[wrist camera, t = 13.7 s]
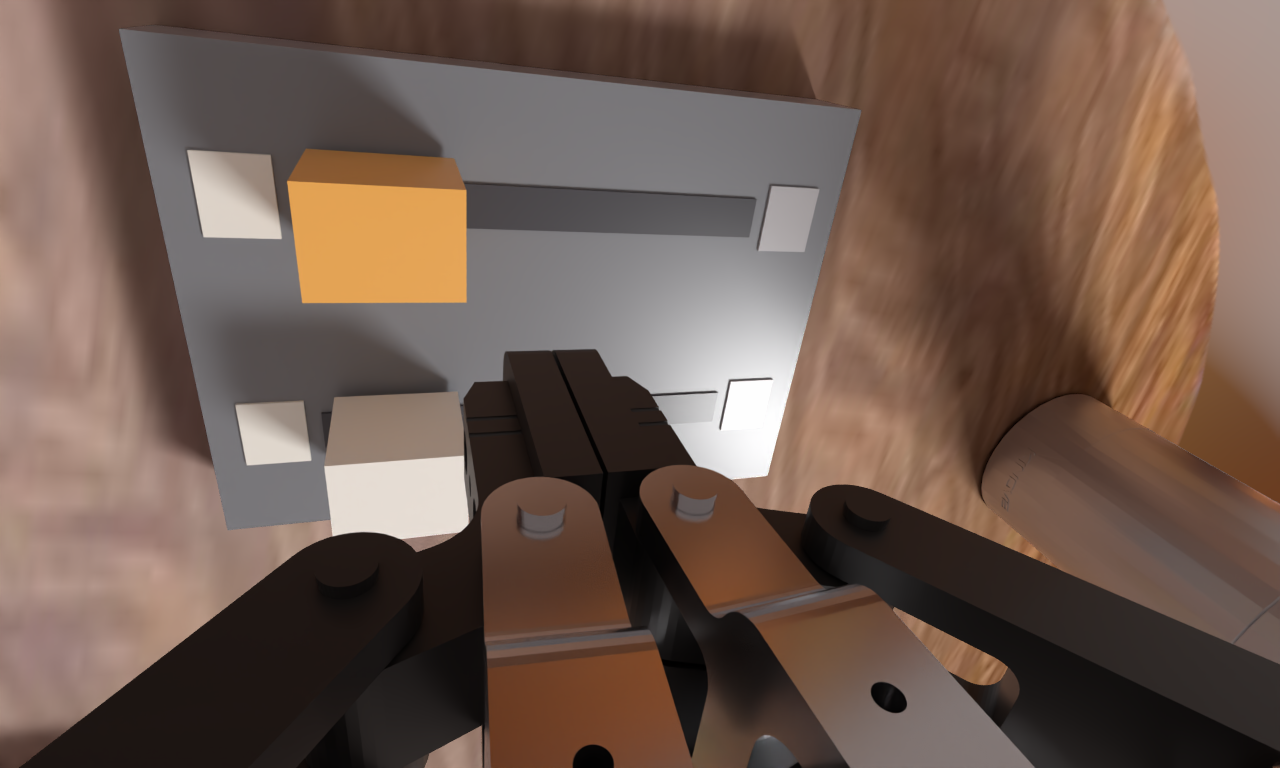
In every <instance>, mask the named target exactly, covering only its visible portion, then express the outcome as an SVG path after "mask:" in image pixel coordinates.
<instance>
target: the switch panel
mask: <svg viewBox="0 0 1280 768" xmlns="http://www.w3.org/2000/svg"><path fill="white" fill-rule="evenodd" d="M119 33H120V37H121V42H122V47H123V51H124V56H125V60H126V65H127V70H128V74H129V79H130V83H131V88H132V93H133V97H134V102H135V106H136V111H137V116H138V120H139V125H140V129H141V134H142V139H143V143H144V148H145V152H146V157H147V162H148V166H149V171H150V175H151V180H152V185H153V189H154V194H155V198H156V203H157V207H158V212H159V217H160V221H161V226H162V230H163V235H164V240H165V244H166V249H167V253H168V258H169V263H170V267H171V272H172V276H173V281H174V286H175V290H176V295H177V299H178V304H179V309H180V313H181V318H182V322H183V327H184V332H185V336H186V341H187V345H188V350H189V355H190V359H191V364H192V368H193V373H194V378H195V382H196V387H197V391H198V396H199V401H200V405H201V410H202V414H203V419H204V424H205V428H206V433H207V437H208V442H209V447H210V451H211V456H212V460H213V465H214V470H215V474H216V479H217V483H218V488H219V493H220V497H221V502H222V506H223V511H224V516H225V520H226V525H227V529H228V530H234V529H244V528H254V527H264V526H274V525H283V524H293V523H303V522H313V521H323V520H331V517H330V509H329V501H328V492H327V484H326V476H325V468H324V465H325V458H326V451H327V444H328V438H329V431H330V424H331V417H332V410H333V403H334V397H350V396H372V395H393V394H415V393H437V392H458V397H459V403H460V409H461V415H462V421H463V427H464V413H463V399H464V397H465V396H466V394H467V393H468V391H469V390H470V388H471V387H472V385H473V384H474V382H487V381H503V360H504V354H505V351H539V350H550V351H552V350H575V349H596V350H597V351H598V353H599V354H600V356H601V358H602V360H603V361H604V363H605V365H606V367H607V369H608V370H609V372H610V374H611V376H612V377H614V376H628V377H629V378H631V379H632V380H634V381H635V382H637V383H638V384H640V385H641V386H643V387H644V388H646V389H647V390H648V391H649V392H650V394H651V395H652V397H653V398H654V400H655V402H656V403H657V405H658V406H659V410H661V411H662V413H663V414H664V416H665V417H666V419H667V420H668V425H671V427H672V428H673V430H674V431H675V433H676V435H677V436H678V438H679V439H680V441H681V442H682V444H683V446H684V447H685V449H686V450H687V452H688V453H689V455H690V457H691V458H692V460H693V461H694V463H695V464H696V466H699V467H703V468H707V469H710V470H713V471H716V472H718V473H720V474H722V475H724V476H726V477H727V478H729V479H740V478H750V477H760V476H767V475H768V471H769V467H770V463H771V459H772V456H773V452H774V448H775V444H776V440H777V436H778V432H779V428H780V425H781V421H782V417H783V413H784V409H785V405H786V401H787V397H788V393H789V390H790V386H791V382H792V378H793V374H794V370H795V366H796V362H797V359H798V355H799V351H800V347H801V343H802V339H803V335H804V331H805V328H806V324H807V320H808V316H809V312H810V308H811V304H812V300H813V297H814V293H815V289H816V285H817V281H818V277H819V273H820V269H821V265H822V262H823V258H824V254H825V250H826V246H827V242H828V238H829V234H830V231H831V227H832V223H833V219H834V215H835V211H836V207H837V203H838V200H839V196H840V192H841V188H842V184H843V180H844V176H845V172H846V169H847V165H848V161H849V157H850V153H851V149H852V145H853V141H854V138H855V134H856V130H857V126H858V122H859V118H860V114H861V110H860V109H855V108H851V107H847V106H843V105H839V104H834V103H830V102H826V101H822V100H817V99H809V98H800V97H791V96H782V95H773V94H765V93H756V92H747V91H738V90H729V89H720V88H711V87H703V86H694V85H685V84H676V83H667V82H658V81H649V80H640V79H632V78H623V77H614V76H605V75H596V74H587V73H578V72H569V71H561V70H552V69H543V68H534V67H525V66H516V65H507V64H498V63H490V62H481V61H472V60H463V59H454V58H445V57H436V56H427V55H419V54H410V53H401V52H392V51H383V50H374V49H365V48H356V47H348V46H339V45H330V44H321V43H312V42H303V41H294V40H285V39H277V38H268V37H259V36H250V35H241V34H232V33H223V32H214V31H206V30H197V29H188V28H179V27H170V26H161V25H148V26H138V27H129V28H120V29H119ZM305 149H319V150H334V151H349V152H365V153H380V154H395V155H411V156H426V157H441V158H454V159H455V162H456V164H457V167H458V170H459V172H460V175H461V177H462V180H463V183H464V185H465V188H466V252H467V303H302V297H301V289H300V281H299V273H298V265H297V257H296V249H295V241H294V233H293V225H292V216H291V208H290V200H289V192H288V184H287V180H288V179H289V177H290V175H291V173H292V172H293V170H294V168H295V167H296V165H297V163H298V161H299V160H300V158H301V156H302V154H303V153H304V151H305Z"/></svg>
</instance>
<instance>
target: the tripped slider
mask: <svg viewBox="0 0 1280 768" xmlns="http://www.w3.org/2000/svg"><path fill="white" fill-rule="evenodd" d="M287 184H288V192H289V200H290V208H291V216H292V225H293V233H294V241H295V249H296V257H297V265H298V273H299V281H300V289H301V297H302V303H467V252H466V188H465V185H464V183H463V180H462V177H461V175H460V172H459V170H458V167H457V164H456V162H455V159H454V158H441V157H426V156H411V155H395V154H380V153H365V152H349V151H334V150H319V149H305V151H304V153H303V154H302V156H301V158H300V160H299V161H298V163H297V165H296V167H295V168H294V170H293V172H292V173H291V175H290V177H289V179H288V180H287Z"/></svg>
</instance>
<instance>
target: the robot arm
mask: <svg viewBox="0 0 1280 768" xmlns="http://www.w3.org/2000/svg"><path fill="white" fill-rule="evenodd" d="M463 413H464V481H465V489H466V497H467V505H468V513H469V520H470V523H469V524H468V525H467V526H466V527H465V528H464V529H463V530H462V531H461V532H460V533H458V534H457V535H455V536H454V537H452V538H451V539H449V540H447V541H445V542H443V543H441V544H438V545H436V546H433V547H431V548H428V549H425V550H422V551H419V552H416V551H415V550H414V549H413V548H412V547H411V546H410V545H408V544H407V543H406V542H404V541H402V540H400V539H398V538H396V537H393V536H390V535H387V534H382V533H375V532H355V533H347V534H341V535H336V536H333V537H329V538H326V539H323V540H321V541H318V542H316V543H314V544H312V545H310V546H308V547H306V548H304V549H302V550H301V551H299V552H298V553H297V554H295V555H294V556H292V557H291V558H290V559H288V560H287V561H286V562H285V563H283V564H282V565H281V566H279V567H278V568H277V569H275V570H274V571H273V572H272V573H270V574H269V575H268V576H266V577H265V578H264V579H263V580H261V581H260V582H259V583H257V584H256V585H255V586H253V587H252V588H251V589H250V590H248V591H247V592H246V593H244V594H243V595H242V596H241V597H239V598H238V599H237V600H235V601H234V602H233V603H232V604H230V605H229V606H228V607H226V608H225V609H224V610H222V611H221V612H220V613H219V614H217V615H216V616H215V617H213V618H212V619H211V620H210V621H208V622H207V623H206V624H204V625H203V626H202V627H200V628H199V629H198V630H197V631H195V632H194V633H193V634H191V635H190V636H189V637H188V638H186V639H185V640H184V641H182V642H181V643H180V644H178V645H177V646H176V647H175V648H173V649H172V650H171V651H169V652H168V653H167V654H166V655H164V656H163V657H162V658H160V659H159V660H158V661H157V662H155V663H154V664H153V665H151V666H150V667H149V668H147V669H146V670H145V671H144V672H142V673H141V674H140V675H138V676H137V677H136V678H135V679H133V680H132V681H131V682H129V683H128V684H127V685H125V686H124V687H123V688H122V689H120V690H119V691H118V692H116V693H115V694H114V695H113V696H111V697H110V698H109V699H107V700H106V701H105V702H104V703H102V704H101V705H100V706H98V707H97V708H96V709H94V710H93V711H92V712H91V713H89V714H88V715H87V716H85V717H84V718H83V719H82V720H80V721H79V722H78V723H76V724H75V725H74V726H72V727H71V728H70V729H69V730H67V731H66V732H65V733H63V734H62V735H61V736H60V737H58V738H57V739H56V740H54V741H53V742H52V743H50V744H49V745H48V746H47V747H45V748H44V749H43V750H41V751H40V752H39V753H38V754H36V755H35V756H34V757H32V758H31V759H30V760H29V761H27V762H26V763H25V764H23V765H22V766H21V767H19V768H424V767H425V765H426V762H427V760H428V756H429V753H431V752H433V751H434V750H436V749H438V748H440V747H442V746H444V745H446V744H448V743H449V742H451V741H453V740H455V739H457V738H459V737H461V736H462V735H464V734H466V733H468V732H470V731H472V730H474V729H476V728H477V727H479V726H481V750H482V768H1280V504H1279V503H1277V502H1275V501H1273V500H1272V499H1270V498H1268V497H1266V496H1264V495H1263V494H1261V493H1259V492H1258V491H1256V490H1254V489H1252V488H1251V487H1249V486H1247V485H1245V484H1244V483H1242V482H1240V481H1238V480H1236V479H1235V478H1233V477H1231V476H1230V475H1228V474H1226V473H1224V472H1223V471H1221V470H1219V469H1217V468H1216V467H1214V466H1212V465H1210V464H1208V463H1207V462H1205V461H1203V460H1201V459H1200V458H1198V457H1196V456H1194V455H1193V454H1191V453H1189V452H1187V451H1186V450H1184V449H1182V448H1180V447H1179V446H1177V445H1175V444H1173V443H1172V442H1170V441H1168V440H1166V439H1165V438H1163V437H1161V436H1159V435H1158V434H1156V433H1155V432H1153V431H1151V430H1149V429H1148V428H1146V427H1144V426H1142V425H1140V424H1139V423H1137V422H1135V421H1133V420H1132V419H1130V418H1128V417H1126V416H1125V415H1123V414H1121V413H1119V412H1118V411H1116V410H1114V409H1112V408H1111V407H1109V406H1107V405H1105V404H1104V403H1102V402H1100V401H1098V400H1097V399H1095V398H1093V397H1091V396H1088V395H1084V394H1069V395H1065V396H1062V397H1058V398H1055V399H1053V400H1051V401H1049V402H1047V403H1044V404H1042V405H1041V406H1039V407H1038V408H1036V409H1035V410H1033V411H1031V412H1030V413H1028V414H1027V415H1026V416H1025V417H1024V418H1022V419H1021V420H1020V421H1019V422H1018V423H1017V424H1015V425H1014V427H1013V428H1012V429H1011V430H1010V431H1009V432H1008V433H1007V434H1006V435H1005V436H1004V437H1003V439H1002V440H1001V442H1000V443H999V444H998V446H997V447H996V448H995V450H994V452H993V454H992V455H991V457H990V459H989V461H988V463H987V466H986V469H985V471H984V474H983V479H982V486H981V489H982V497H983V499H984V501H985V503H986V505H987V506H988V507H989V508H990V509H991V510H992V511H993V512H995V513H996V514H997V515H998V516H999V517H1000V518H1002V519H1003V520H1004V521H1005V522H1006V523H1007V524H1008V525H1010V526H1011V527H1012V528H1013V529H1014V530H1015V531H1017V532H1018V533H1019V534H1020V535H1021V536H1022V537H1024V538H1025V539H1026V540H1027V541H1028V542H1029V543H1030V544H1032V545H1033V546H1034V547H1035V548H1036V549H1037V550H1038V551H1039V552H1041V553H1042V554H1043V555H1044V556H1045V557H1046V558H1048V559H1049V560H1050V561H1051V562H1052V563H1053V564H1055V565H1056V566H1057V567H1058V568H1059V569H1060V570H1059V569H1057V568H1054V567H1052V566H1050V565H1047V564H1045V563H1043V562H1040V561H1038V560H1036V559H1033V558H1031V557H1029V556H1026V555H1024V554H1022V553H1019V552H1017V551H1015V550H1012V549H1010V548H1008V547H1005V546H1003V545H1001V544H998V543H996V542H994V541H991V540H989V539H987V538H984V537H982V536H980V535H977V534H975V533H973V532H970V531H968V530H966V529H963V528H961V527H959V526H956V525H954V524H952V523H949V522H947V521H945V520H942V519H940V518H938V517H935V516H933V515H931V514H928V513H926V512H924V511H921V510H919V509H917V508H914V507H912V506H910V505H907V504H905V503H903V502H900V501H898V500H896V499H893V498H891V497H889V496H886V495H884V494H882V493H879V492H877V491H874V490H871V489H868V488H864V487H860V486H854V485H832V486H827V487H824V488H822V489H820V490H818V491H817V492H816V493H815V494H814V495H813V497H812V498H811V502H810V505H809V508H808V512H807V514H801V513H793V512H785V511H776V510H768V509H762V508H756V507H755V505H754V504H753V503H752V502H751V501H750V499H749V498H748V497H747V496H746V494H745V493H744V492H743V491H742V490H741V488H740V487H739V486H738V485H737V484H736V483H734V482H733V481H732V480H730V479H729V478H727V477H726V476H724V475H722V474H720V473H718V472H716V471H713V470H710V469H707V468H703V467H699V466H696V464H695V463H694V461H693V460H692V458H691V457H690V455H689V453H688V452H687V450H686V449H685V447H684V446H683V444H682V442H681V441H680V439H679V438H678V436H677V435H676V433H675V431H674V430H673V428H672V427H671V425H668V420H667V419H666V417H665V416H664V414H663V413H662V411H661V410H659V406H658V405H657V403H656V402H655V400H654V398H653V397H652V395H651V394H650V392H649V391H648V390H647V389H646V388H644V387H643V386H641V385H640V384H638V383H637V382H635V381H634V380H632V379H631V378H629V377H628V376H614V377H612V376H611V374H610V372H609V370H608V369H607V367H606V365H605V363H604V361H603V360H602V358H601V356H600V354H599V353H598V351H597V350H596V349H575V350H552V351H550V350H539V351H505V354H504V360H503V381H487V382H474V384H473V385H472V387H471V388H470V390H469V391H468V393H467V394H466V396H465V397H464V399H463ZM1061 570H1062V571H1061ZM894 607H896V608H898V609H900V610H902V611H904V612H906V613H908V614H910V615H912V616H914V617H916V618H918V619H920V620H922V621H924V622H926V623H928V624H930V625H932V626H934V627H936V628H937V629H939V630H941V631H943V632H945V633H947V634H949V635H951V636H953V637H955V638H957V639H959V640H961V641H963V642H965V643H967V644H969V645H971V646H973V647H975V648H977V649H979V650H981V651H983V652H985V653H987V654H989V655H991V656H993V657H995V658H997V659H998V660H1000V661H1001V662H1003V663H1004V664H1005V665H1006V666H1008V669H1007V670H1006V672H1005V674H1004V676H1003V678H1002V679H1001V680H1000V681H999V682H997V683H995V684H992V685H977V684H973V683H970V682H968V681H966V680H964V679H962V678H960V677H958V676H956V675H954V674H952V673H951V672H949V671H947V670H946V669H945V668H944V667H943V665H942V664H941V663H940V662H939V661H938V660H937V659H936V658H935V657H934V655H933V654H932V653H931V652H930V651H929V650H928V649H927V648H926V647H925V646H924V644H923V643H922V642H921V641H920V640H919V639H918V638H917V637H916V636H915V635H914V633H913V632H912V631H911V630H910V629H909V628H908V627H907V626H906V625H905V623H904V622H903V621H902V620H901V619H900V618H899V617H898V616H897V615H896V614H895V612H894V611H893V608H894Z"/></svg>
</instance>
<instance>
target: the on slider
mask: <svg viewBox="0 0 1280 768" xmlns="http://www.w3.org/2000/svg"><path fill="white" fill-rule="evenodd" d="M324 468H325V476H326V484H327V492H328V501H329V509H330V517H331V525H332V533H333V536H336V535H341V534H347V533H355V532H375V533H382V534H387V535H390V536H393V537H396V538H398V539H405V538H414V537H423V536H431V535H440V534H449V533H458V532H461V531H462V530H463V529H464V528H465V527H466V526H467V525H468V505H467V497H466V489H465V481H464V427H463V421H462V415H461V409H460V403H459V397H458V392H437V393H415V394H393V395H372V396H350V397H334V403H333V410H332V417H331V424H330V431H329V438H328V444H327V451H326V458H325V465H324Z"/></svg>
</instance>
